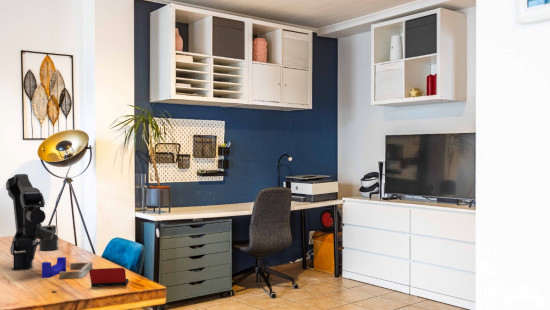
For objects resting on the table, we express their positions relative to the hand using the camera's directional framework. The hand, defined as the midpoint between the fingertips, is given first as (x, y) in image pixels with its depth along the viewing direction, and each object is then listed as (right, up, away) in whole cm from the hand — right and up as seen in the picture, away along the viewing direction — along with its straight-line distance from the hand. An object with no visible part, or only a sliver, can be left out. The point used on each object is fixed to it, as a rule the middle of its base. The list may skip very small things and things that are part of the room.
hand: (31, 260), depth 222 cm
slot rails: (+16, -6, +2) cm, 18 cm away
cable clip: (+8, -6, +1) cm, 10 cm away
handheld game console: (+37, -6, -18) cm, 41 cm away
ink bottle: (-17, -6, +59) cm, 62 cm away
